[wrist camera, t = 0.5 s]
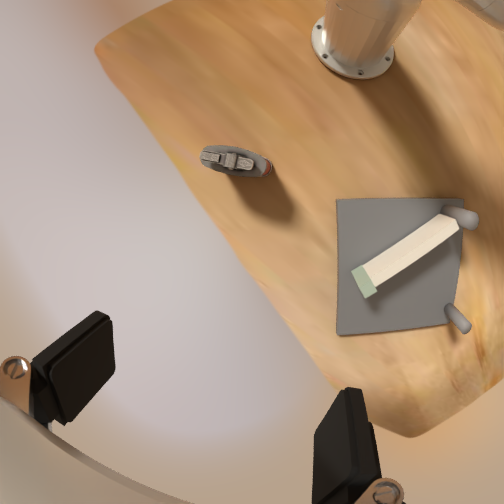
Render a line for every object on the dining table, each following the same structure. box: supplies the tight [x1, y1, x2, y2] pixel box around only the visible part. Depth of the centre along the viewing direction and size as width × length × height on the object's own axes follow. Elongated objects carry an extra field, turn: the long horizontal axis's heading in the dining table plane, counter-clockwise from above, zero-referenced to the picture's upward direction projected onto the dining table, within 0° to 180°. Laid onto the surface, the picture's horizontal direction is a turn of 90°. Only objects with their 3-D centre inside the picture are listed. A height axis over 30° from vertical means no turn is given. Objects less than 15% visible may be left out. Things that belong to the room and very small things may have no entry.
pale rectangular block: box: [351, 214, 459, 298], centre depth 33 cm, size 16×2×6 cm, turn 125°
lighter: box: [200, 145, 272, 177], centre depth 34 cm, size 8×3×10 cm, turn 77°
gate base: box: [336, 198, 479, 335], centre depth 34 cm, size 21×21×9 cm
